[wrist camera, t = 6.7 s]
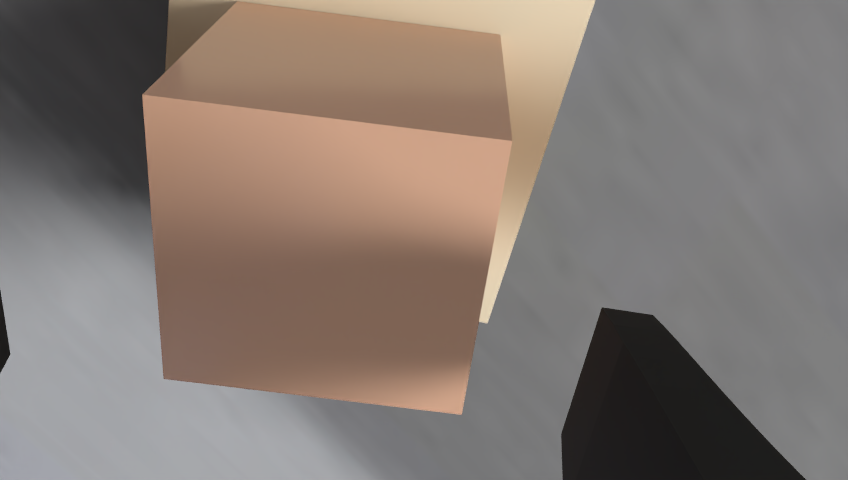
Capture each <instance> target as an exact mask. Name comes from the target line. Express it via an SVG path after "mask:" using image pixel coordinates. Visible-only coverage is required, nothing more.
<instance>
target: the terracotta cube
mask: <svg viewBox="0 0 848 480" xmlns="http://www.w3.org/2000/svg"><path fill="white" fill-rule="evenodd" d="M142 98H143V111H144V125H145V138H146V151H147V164H148V178H149V191H150V204H151V217H152V231H153V244H154V257H155V270H156V284H157V297H158V310H159V323H160V337H161V350H162V363H163V376H164V379H170V380H178V381H186V382H194V383H203V384H211V385H219V386H228V387H236V388H244V389H253V390H261V391H269V392H277V393H286V394H294V395H302V396H311V397H319V398H327V399H336V400H344V401H352V402H361V403H369V404H377V405H385V406H394V407H402V408H410V409H419V410H427V411H435V412H444V413H452V414H460V415H462V410H463V405H464V399H465V394H466V388H467V383H468V378H469V372H470V367H471V361H472V356H473V351H474V345H475V340H476V335H477V329H478V324H479V318H480V313H481V308H482V302H483V297H484V291H485V286H486V281H487V275H488V270H489V264H490V259H491V254H492V248H493V243H494V238H495V232H496V227H497V221H498V216H499V211H500V205H501V200H502V194H503V189H504V184H505V178H506V173H507V168H508V162H509V157H510V151H511V146H512V133H511V124H510V115H509V107H508V98H507V89H506V80H505V71H504V62H503V53H502V45H501V36H500V35H499V34H491V33H483V32H475V31H467V30H460V29H452V28H444V27H436V26H428V25H420V24H412V23H405V22H397V21H389V20H381V19H373V18H365V17H357V16H350V15H342V14H334V13H326V12H318V11H310V10H302V9H295V8H287V7H279V6H271V5H263V4H255V3H247V2H240V1H237V2H236V3H235V4H234V5H233V6H232V7H231V8H230V9H229V10H228V11H227V12H226V13H225V14H224V15H223V16H222V17H221V18H220V19H219V20H218V21H217V22H216V23H215V24H214V25H213V26H212V27H211V28H210V29H209V30H208V31H207V32H206V33H204V34H203V35H202V36H201V37H200V38H199V39H198V40H197V41H196V42H195V43H194V44H193V45H192V46H191V47H190V48H189V49H188V50H187V51H186V52H185V53H184V54H183V55H182V56H181V57H180V58H179V59H178V60H177V61H176V62H175V63H174V64H173V65H172V66H171V67H170V68H169V69H168V70H167V71H166V72H165V73H164V74H163V75H162V76H161V77H160V78H159V79H158V80H157V81H156V82H155V83H154V84H153V85H152V86H151V87H150V88H149V89H147V90H146V91H145V92H144V93H143V94H142Z"/></svg>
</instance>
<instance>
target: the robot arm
mask: <svg viewBox="0 0 848 480" xmlns="http://www.w3.org/2000/svg"><path fill="white" fill-rule="evenodd" d="M9 356H10V350H9V343H8V337H7V330H6V324H5V317H4V311H3V305H2V298H1V292H0V372H1V371H2V369H3V367H4V365H5V363H6V361H7V359H8V358H9ZM561 439H562V470H563V480H806V479H805V478H804V477H803V476H802V475H801V474H800V473H799V472H798V471H797V470H796V469H795V468H794V467H793V466H792V465H791V464H790V463H789V462H788V461H787V460H786V459H785V458H784V457H783V456H782V455H781V454H780V453H779V452H778V451H777V450H776V449H775V448H774V447H773V446H772V445H771V444H770V442H769V441H768V440H767V439H766V438H765V437H764V436H763V435H762V434H761V433H760V432H759V431H758V430H757V429H756V428H755V427H754V425H753V424H752V423H751V422H750V421H749V420H748V419H747V418H746V417H745V416H744V415H743V414H742V413H741V411H740V410H739V409H738V408H737V407H736V406H735V405H734V404H733V403H732V402H731V400H730V399H729V398H728V397H727V396H726V395H725V394H724V393H723V392H722V391H721V389H720V388H719V387H718V386H717V385H716V384H715V383H714V382H713V380H712V379H711V378H710V377H709V376H708V375H707V374H706V373H705V371H704V370H703V369H702V368H701V367H700V366H699V365H698V364H697V362H696V361H695V360H694V359H693V358H692V357H691V356H690V355H689V353H688V352H687V351H686V350H685V349H684V348H683V347H682V346H681V345H680V343H679V342H678V341H677V340H676V339H675V338H674V337H673V336H672V335H671V333H670V332H669V331H668V330H667V329H666V328H665V327H664V326H663V325H662V324H661V323H660V322H659V321H658V320H657V319H656V318H655V317H654V316H653V315H649V314H642V313H635V312H629V311H622V310H615V309H609V308H602V309H601V312H600V315H599V318H598V321H597V325H596V328H595V331H594V334H593V337H592V340H591V343H590V346H589V350H588V353H587V356H586V359H585V362H584V365H583V368H582V371H581V374H580V378H579V381H578V384H577V387H576V390H575V393H574V396H573V399H572V402H571V406H570V409H569V412H568V415H567V418H566V421H565V424H564V427H563V430H562V434H561Z"/></svg>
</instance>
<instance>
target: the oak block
mask: <svg viewBox="0 0 848 480" xmlns="http://www.w3.org/2000/svg"><path fill="white" fill-rule="evenodd" d="M237 1H240V2H247V3H255V4H263V5H271V6H279V7H287V8H295V9H302V10H310V11H318V12H326V13H334V14H342V15H350V16H357V17H365V18H373V19H381V20H389V21H397V22H405V23H412V24H420V25H428V26H436V27H444V28H452V29H460V30H467V31H475V32H483V33H491V34H499V35H500V36H501V45H502V53H503V62H504V71H505V80H506V89H507V98H508V107H509V115H510V124H511V133H512V146H511V151H510V157H509V162H508V168H507V173H506V178H505V184H504V189H503V194H502V200H501V205H500V211H499V216H498V221H497V227H496V232H495V238H494V243H493V248H492V254H491V259H490V264H489V270H488V275H487V281H486V286H485V291H484V297H483V302H482V308H481V313H480V318H479V322H483V323H488V320H489V317H490V314H491V311H492V308H493V305H494V302H495V299H496V296H497V293H498V290H499V287H500V284H501V281H502V278H503V275H504V272H505V269H506V266H507V263H508V260H509V257H510V254H511V251H512V248H513V245H514V242H515V239H516V236H517V233H518V230H519V227H520V224H521V221H522V218H523V215H524V212H525V209H526V206H527V203H528V200H529V197H530V194H531V191H532V188H533V185H534V182H535V179H536V176H537V173H538V170H539V167H540V164H541V161H542V158H543V155H544V152H545V149H546V146H547V143H548V140H549V137H550V134H551V131H552V128H553V125H554V122H555V119H556V116H557V113H558V110H559V107H560V104H561V101H562V98H563V95H564V92H565V89H566V86H567V83H568V80H569V77H570V74H571V71H572V68H573V65H574V62H575V59H576V56H577V53H578V50H579V47H580V44H581V41H582V38H583V35H584V32H585V29H586V26H587V23H588V20H589V17H590V14H591V11H592V8H593V6H594V3H595V0H169V11H168V29H167V46H166V64H165V72H166V71H167V70H168V69H169V68H170V67H171V66H172V65H173V64H174V63H175V62H176V61H177V60H178V59H179V58H180V57H181V56H182V55H183V54H184V53H185V52H186V51H187V50H188V49H189V48H190V47H191V46H192V45H193V44H194V43H195V42H196V41H197V40H198V39H199V38H200V37H201V36H202V35H203V34H204V33H206V32H207V31H208V30H209V29H210V28H211V27H212V26H213V25H214V24H215V23H216V22H217V21H218V20H219V19H220V18H221V17H222V16H223V15H224V14H225V13H226V12H227V11H228V10H229V9H230V8H231V7H232V6H233V5H234V4H235V3H236V2H237Z"/></svg>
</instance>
